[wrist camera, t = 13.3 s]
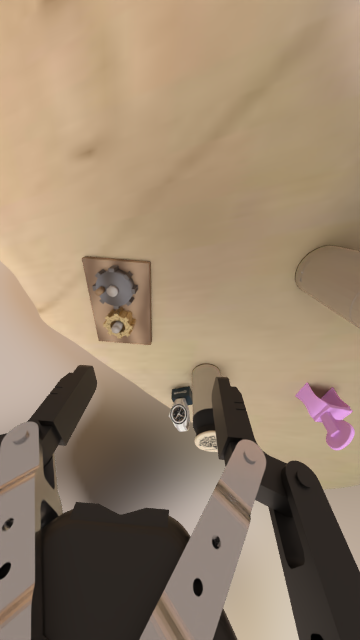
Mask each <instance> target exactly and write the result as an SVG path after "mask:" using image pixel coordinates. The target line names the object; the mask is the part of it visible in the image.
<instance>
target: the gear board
mask: <svg viewBox="0 0 360 640" xmlns="http://www.w3.org/2000/svg"><path fill="white" fill-rule="evenodd" d="M82 262H83V266H84V271H85V276H86V281H87V286H88V291H89V296H90V300H91V305H92V310H93V315H94V320H95V325H96V329H97V334H98V339H99V341H107V342H119V343H132V344H144V345H151V342H152V333H151V269H150V262H146V261H134V260H122V259H110V258H97V257H83V258H82ZM120 307H122V308H123V310H125V311H127V312H129V311H131V312H132V313H133V314H132V317H133V319H136V323H135V325H134V328H133V330H132V332H131V334H130V335H129V336H128V337H127V336H126V335H125V336H123V337H122V338H117V336H115V335H113V334H112V335H109V334H108V330H107V329H106V327H103V323H104V322H105V321H106V319H105V317H106V316H107V315H108V314H109V312H110V311H111V310H112V309H113V310H114V311H116V310H117V309H119V308H120ZM123 326H125V325H124V324H123V322H121V321H119V320H116V322H115V323H114V325H113V326H112V328H111V330H112V332H113V333H119V332H120V330H121V328H122V327H123Z"/></svg>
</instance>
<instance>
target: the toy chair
mask: <svg viewBox="0 0 360 640" xmlns="http://www.w3.org/2000/svg"><path fill="white" fill-rule="evenodd" d="M295 396H296V397H297V398H298V399H300V400H301V401H302V402H303V403H304V404H305V406H306V407H307V409H308V412H309V414H310V416H311V417H312V418H313V419H314V421H317V422H323V424H324V426H325V428H326V430H327V432H328V433H327V436H326V442H327V444H328V445H329V446H330V447H331V448H332V449H334V450H341V449H343V448H344V447H346V446H347V445H348V444H349V443H350V442H351V440H352V439H353V437H354V433H355V432H354V428H353V427H352V425H351V424H349V423H347V422H345V421H344V420H342V419H344V418H345V417H346V416H348V415H349V414H350V413H352V412H353V411H352V410H351V409H350V406H348V405H347V404H346V403H344V402H343V401H342V400H341V399H340V398H339V396H338V395H337V393H336V392H335V390H334V388H333V387H332V388H331V389H330V390H329V391H328V392H327V393H326V394H325V395H324V396H323V397H322V398H321V399H320V398H318V397H317V396H316V395H315V394H314V393H313V391H312V390H311V388H310V386H309V384H308V383H306V384H305V385H304V386H303V387H302V389H301V390H300V391H299V392H298V393H297V394H296V395H295Z"/></svg>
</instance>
